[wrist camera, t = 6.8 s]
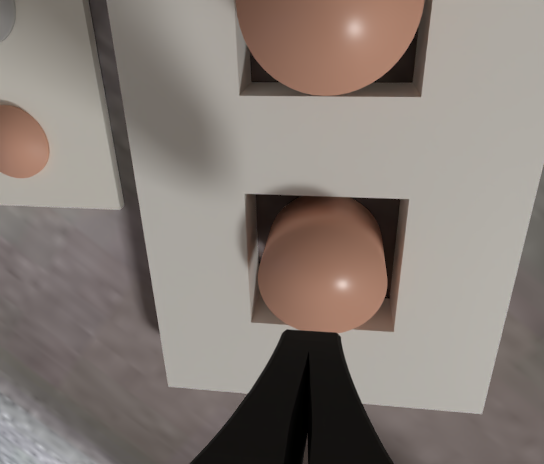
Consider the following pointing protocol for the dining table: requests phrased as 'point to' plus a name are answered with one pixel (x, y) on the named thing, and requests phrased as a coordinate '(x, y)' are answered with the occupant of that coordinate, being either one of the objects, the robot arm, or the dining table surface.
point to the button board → (336, 189)
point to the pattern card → (54, 109)
